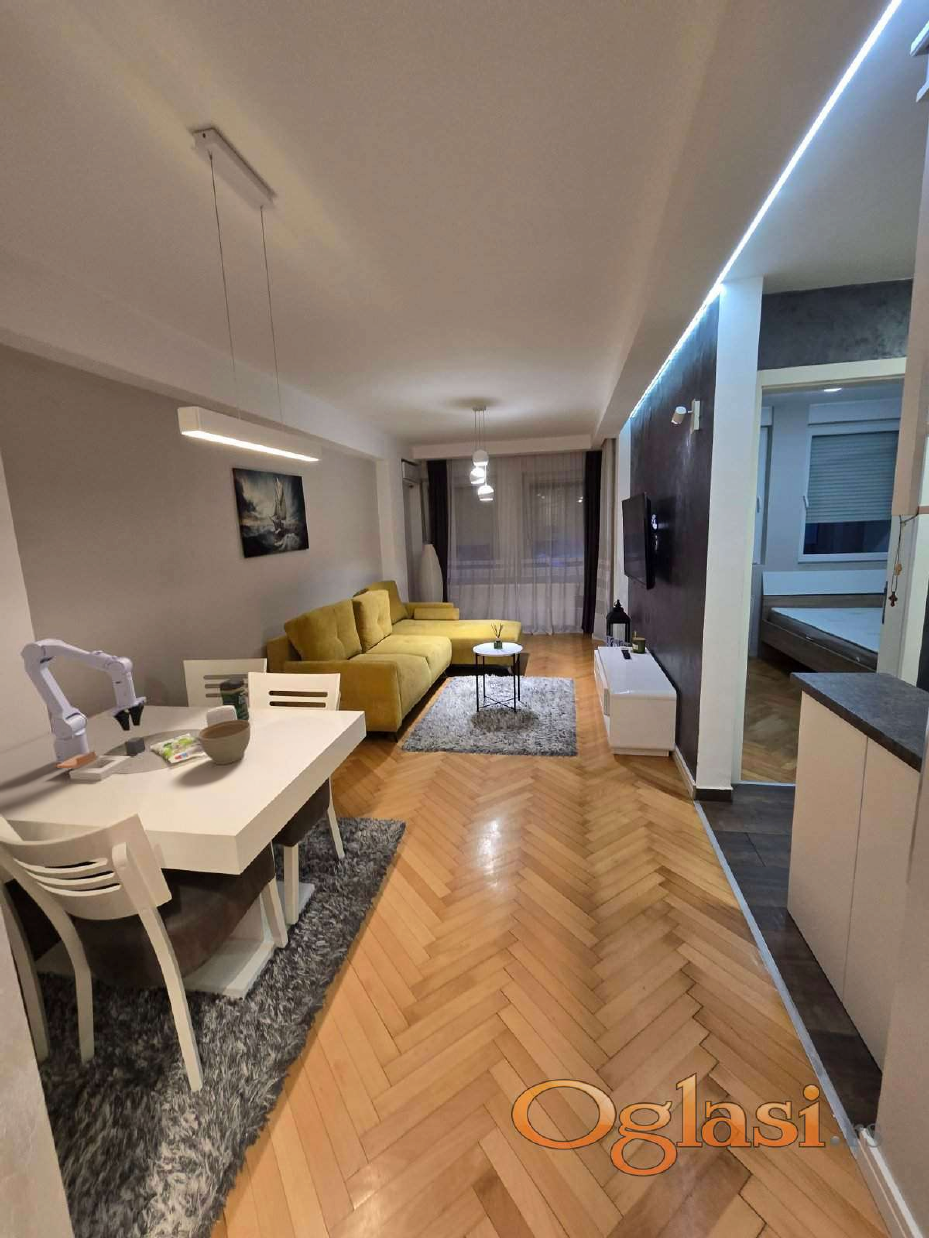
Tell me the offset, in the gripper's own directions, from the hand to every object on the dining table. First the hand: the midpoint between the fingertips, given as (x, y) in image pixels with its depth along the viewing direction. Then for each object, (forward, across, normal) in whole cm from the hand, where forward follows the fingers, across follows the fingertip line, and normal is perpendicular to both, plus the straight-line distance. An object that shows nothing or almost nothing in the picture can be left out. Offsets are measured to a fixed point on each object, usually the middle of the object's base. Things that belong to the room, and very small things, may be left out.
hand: (131, 727), depth 180 cm
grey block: (+10, 0, 0) cm, 10 cm away
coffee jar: (+10, +29, -21) cm, 37 cm away
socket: (+9, -14, 0) cm, 17 cm away
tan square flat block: (+7, -14, +9) cm, 18 cm away
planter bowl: (+10, -3, -40) cm, 41 cm away
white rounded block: (+10, +14, -26) cm, 31 cm away
